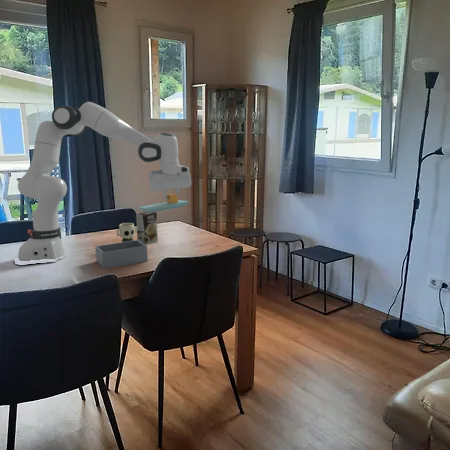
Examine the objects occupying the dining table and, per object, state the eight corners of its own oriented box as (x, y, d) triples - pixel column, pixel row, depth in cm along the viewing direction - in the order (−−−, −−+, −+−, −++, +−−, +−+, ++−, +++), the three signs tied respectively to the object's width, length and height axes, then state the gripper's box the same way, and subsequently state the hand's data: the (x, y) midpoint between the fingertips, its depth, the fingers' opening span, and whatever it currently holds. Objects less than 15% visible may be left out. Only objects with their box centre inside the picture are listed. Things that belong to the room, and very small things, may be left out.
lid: (148, 213, 196) (146, 200, 195) (138, 211, 206) (136, 198, 205) (189, 205, 206) (187, 192, 204) (178, 203, 216) (176, 191, 215)
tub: (103, 270, 191) (102, 252, 189) (96, 263, 201) (95, 246, 199) (147, 262, 201) (146, 245, 199) (138, 256, 211) (137, 239, 209)
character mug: (121, 253, 215) (119, 227, 212) (115, 250, 221) (113, 224, 218) (141, 249, 222) (139, 224, 219) (134, 246, 227) (133, 221, 224)
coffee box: (145, 245, 228) (144, 215, 224) (137, 243, 232) (135, 213, 228) (158, 241, 235) (157, 212, 232) (150, 239, 239) (148, 210, 235)
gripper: (151, 171, 197) (153, 202, 200) (192, 167, 207) (193, 196, 210) (145, 170, 202) (148, 200, 205) (186, 166, 212) (187, 194, 215)
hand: (171, 198), depth 208 cm, fingers closed on lid, 3 cm apart
